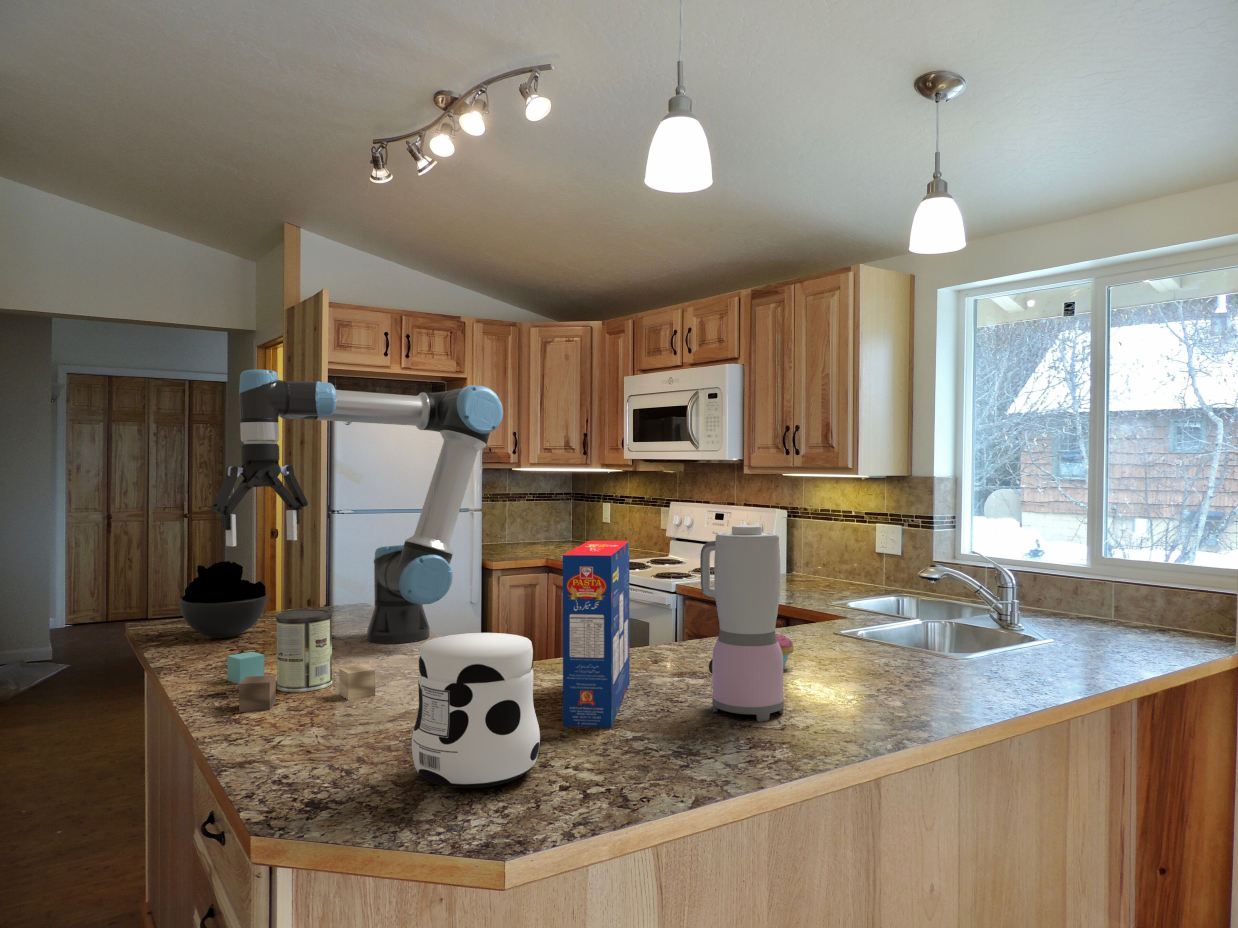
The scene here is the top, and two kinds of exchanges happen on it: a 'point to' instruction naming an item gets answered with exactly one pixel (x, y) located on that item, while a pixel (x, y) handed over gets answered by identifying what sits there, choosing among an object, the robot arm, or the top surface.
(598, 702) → the pasta box
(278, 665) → the coffee can
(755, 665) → the blender
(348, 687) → the oak cube
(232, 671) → the teal cube
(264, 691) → the walnut cube
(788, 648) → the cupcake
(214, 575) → the bowl of black rocks
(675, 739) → the top surface
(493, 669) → the milk container
